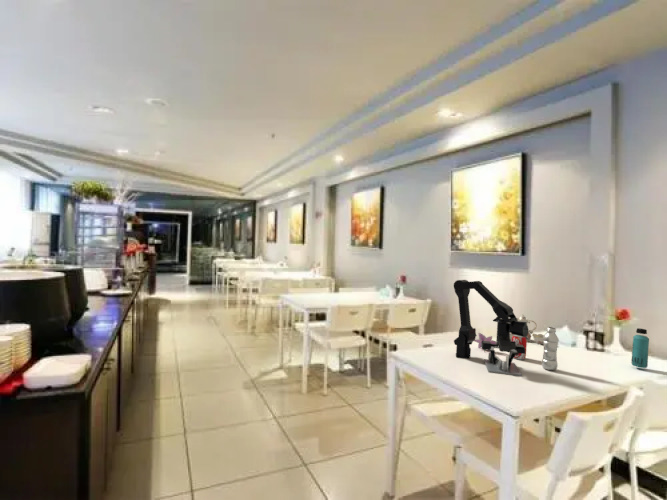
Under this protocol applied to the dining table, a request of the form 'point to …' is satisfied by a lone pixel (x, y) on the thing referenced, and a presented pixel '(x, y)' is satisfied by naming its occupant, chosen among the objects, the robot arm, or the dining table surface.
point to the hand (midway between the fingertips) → (501, 364)
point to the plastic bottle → (550, 349)
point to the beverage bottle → (640, 349)
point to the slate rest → (503, 368)
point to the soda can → (520, 341)
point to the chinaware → (536, 337)
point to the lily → (483, 338)
